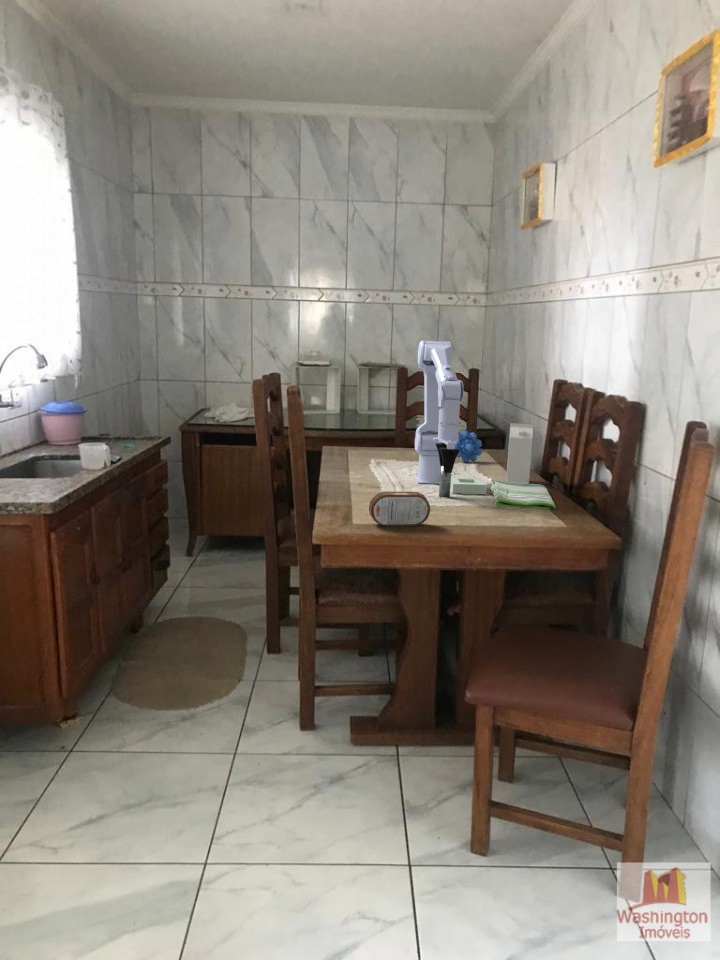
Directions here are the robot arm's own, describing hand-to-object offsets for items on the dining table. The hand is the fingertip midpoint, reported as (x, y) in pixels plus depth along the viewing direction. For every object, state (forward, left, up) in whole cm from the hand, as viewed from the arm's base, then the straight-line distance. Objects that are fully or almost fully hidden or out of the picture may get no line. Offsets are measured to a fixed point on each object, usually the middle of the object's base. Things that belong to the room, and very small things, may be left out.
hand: (445, 470), depth 210 cm
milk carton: (-24, +27, -8) cm, 37 cm away
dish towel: (-1, +23, -9) cm, 25 cm away
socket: (-9, +8, -8) cm, 14 cm away
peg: (0, 0, -8) cm, 8 cm away
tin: (+33, -16, -8) cm, 37 cm away
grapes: (-57, +16, -8) cm, 60 cm away
